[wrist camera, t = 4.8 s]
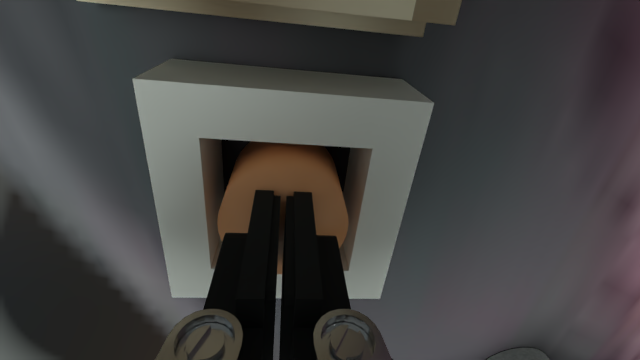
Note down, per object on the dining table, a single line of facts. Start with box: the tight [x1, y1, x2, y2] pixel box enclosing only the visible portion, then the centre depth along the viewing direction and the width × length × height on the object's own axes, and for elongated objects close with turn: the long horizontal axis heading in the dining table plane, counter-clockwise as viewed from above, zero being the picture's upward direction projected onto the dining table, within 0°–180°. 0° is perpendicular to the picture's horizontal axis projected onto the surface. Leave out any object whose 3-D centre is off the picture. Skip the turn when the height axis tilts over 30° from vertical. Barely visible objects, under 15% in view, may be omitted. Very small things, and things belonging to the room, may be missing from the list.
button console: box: [133, 59, 434, 299], centre depth 12 cm, size 8×8×3 cm
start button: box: [217, 141, 349, 274], centre depth 11 cm, size 4×4×3 cm
